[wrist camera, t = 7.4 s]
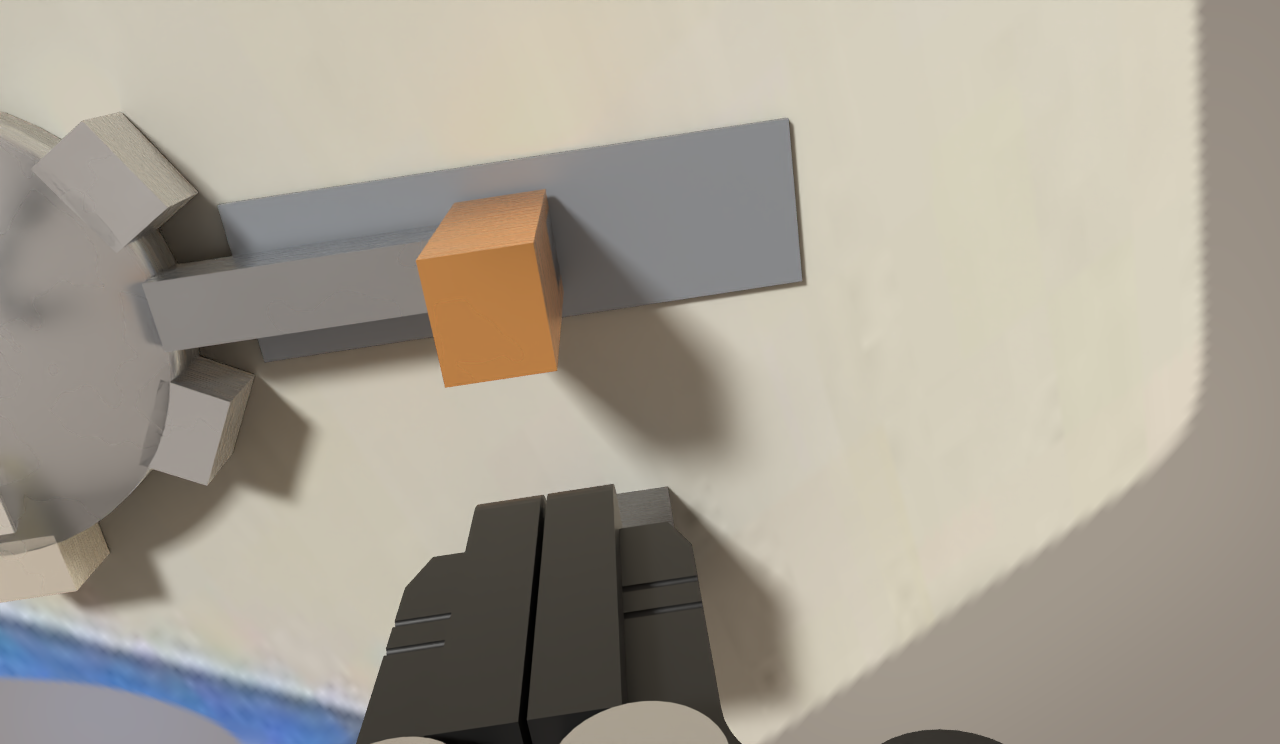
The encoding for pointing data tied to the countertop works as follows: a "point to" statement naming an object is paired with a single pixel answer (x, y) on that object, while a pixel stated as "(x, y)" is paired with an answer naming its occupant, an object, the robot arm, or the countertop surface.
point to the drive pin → (390, 289)
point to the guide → (572, 222)
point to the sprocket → (91, 349)
